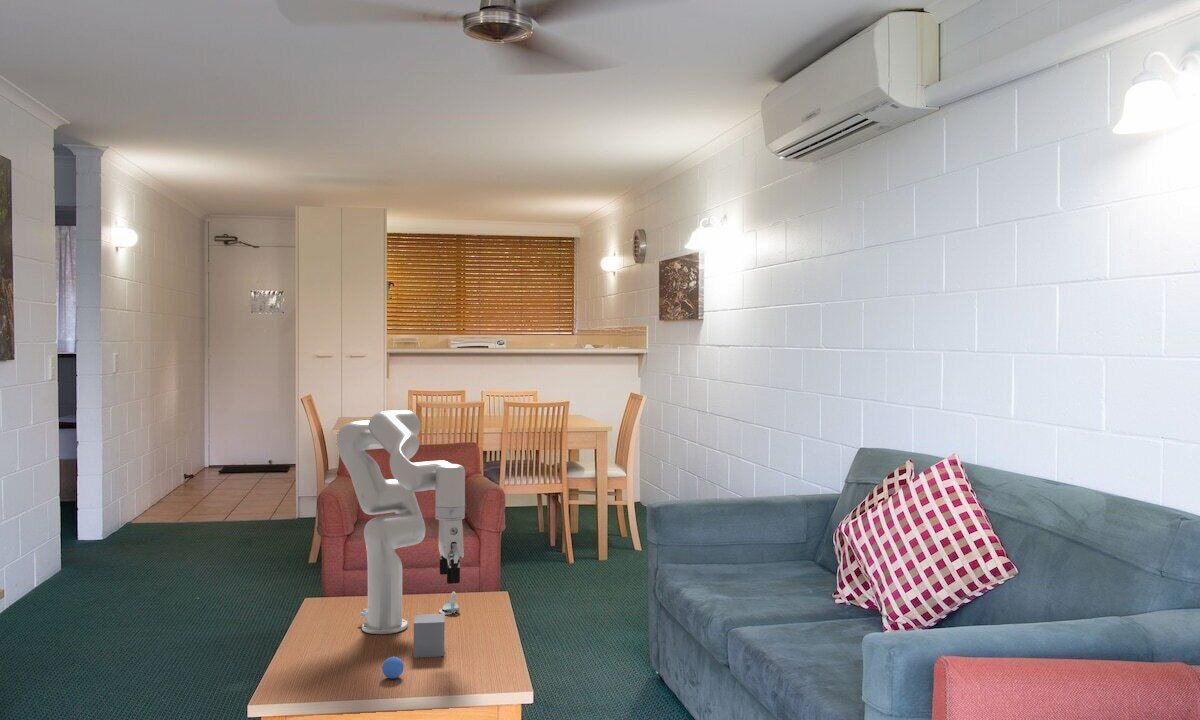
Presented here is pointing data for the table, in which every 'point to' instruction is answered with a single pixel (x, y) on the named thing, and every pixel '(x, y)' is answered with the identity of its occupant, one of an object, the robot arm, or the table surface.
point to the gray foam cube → (429, 635)
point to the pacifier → (450, 605)
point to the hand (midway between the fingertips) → (449, 578)
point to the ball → (392, 667)
